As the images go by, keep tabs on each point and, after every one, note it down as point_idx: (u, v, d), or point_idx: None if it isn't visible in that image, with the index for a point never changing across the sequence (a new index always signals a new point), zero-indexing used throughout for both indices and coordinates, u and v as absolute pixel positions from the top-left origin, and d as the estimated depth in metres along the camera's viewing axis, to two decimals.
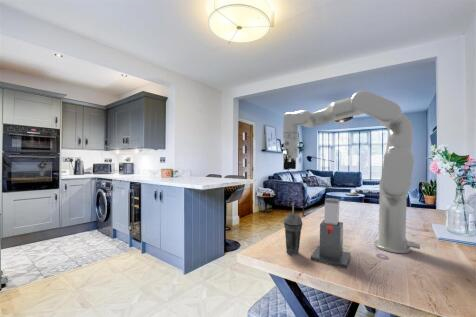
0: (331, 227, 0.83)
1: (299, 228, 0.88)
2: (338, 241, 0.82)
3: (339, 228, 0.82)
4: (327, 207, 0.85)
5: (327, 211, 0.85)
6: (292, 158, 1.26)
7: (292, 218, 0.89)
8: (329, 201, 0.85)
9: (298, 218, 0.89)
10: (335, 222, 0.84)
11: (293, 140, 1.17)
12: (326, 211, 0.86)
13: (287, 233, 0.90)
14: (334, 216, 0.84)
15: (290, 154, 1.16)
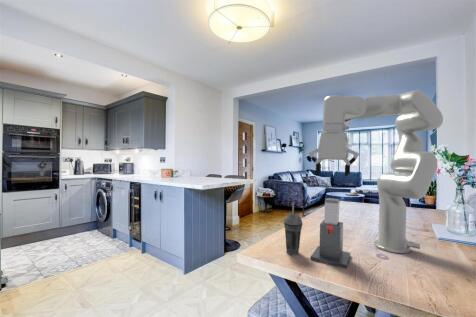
0: (331, 227, 0.83)
1: (299, 228, 0.88)
2: (338, 241, 0.82)
3: (339, 228, 0.82)
4: (327, 207, 0.85)
5: (327, 211, 0.85)
6: (316, 159, 0.89)
7: (292, 218, 0.89)
8: (329, 201, 0.85)
9: (298, 218, 0.89)
10: (335, 222, 0.84)
11: None
12: (326, 211, 0.86)
13: (287, 233, 0.90)
14: (334, 216, 0.84)
15: None
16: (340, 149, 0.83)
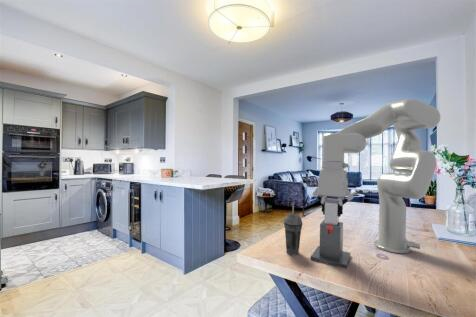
0: (331, 227, 0.83)
1: (299, 228, 0.88)
2: (338, 241, 0.82)
3: (339, 228, 0.82)
4: (327, 207, 0.85)
5: (327, 211, 0.85)
6: None
7: (292, 218, 0.89)
8: (329, 201, 0.85)
9: (298, 218, 0.89)
10: (335, 222, 0.84)
11: None
12: (326, 211, 0.86)
13: (287, 233, 0.90)
14: (334, 216, 0.84)
15: None
16: (340, 187, 0.83)
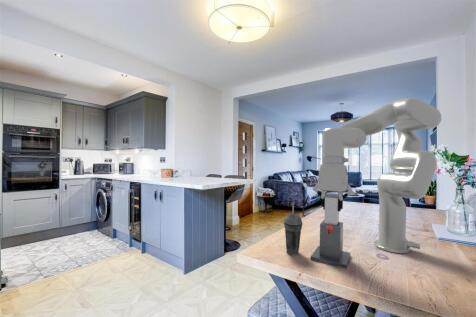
0: (331, 227, 0.83)
1: (299, 228, 0.88)
2: (338, 241, 0.82)
3: (339, 228, 0.82)
4: (328, 201, 0.85)
5: (327, 206, 0.85)
6: None
7: (292, 218, 0.89)
8: (329, 196, 0.85)
9: (298, 218, 0.89)
10: (335, 217, 0.84)
11: None
12: (326, 206, 0.86)
13: (287, 233, 0.90)
14: (334, 211, 0.84)
15: None
16: (340, 182, 0.83)
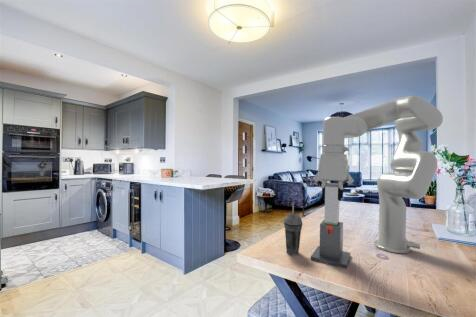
0: (331, 227, 0.83)
1: (299, 228, 0.88)
2: (338, 241, 0.82)
3: (339, 228, 0.82)
4: (328, 191, 0.85)
5: (327, 195, 0.85)
6: None
7: (292, 218, 0.89)
8: (329, 185, 0.85)
9: (298, 218, 0.89)
10: (335, 206, 0.84)
11: None
12: (326, 195, 0.86)
13: (287, 233, 0.90)
14: (335, 200, 0.84)
15: None
16: (340, 171, 0.83)
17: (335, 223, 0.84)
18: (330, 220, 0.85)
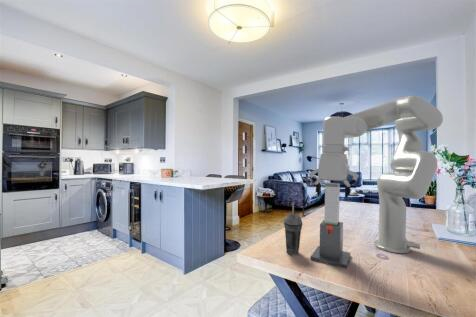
0: (331, 227, 0.83)
1: (299, 228, 0.88)
2: (338, 241, 0.82)
3: (339, 228, 0.82)
4: (328, 190, 0.85)
5: (327, 195, 0.85)
6: (316, 179, 0.89)
7: (292, 218, 0.89)
8: (329, 185, 0.85)
9: (298, 218, 0.89)
10: (335, 206, 0.84)
11: None
12: (326, 195, 0.86)
13: (287, 233, 0.90)
14: (335, 199, 0.84)
15: None
16: (340, 171, 0.83)
17: (335, 223, 0.84)
18: (330, 220, 0.85)
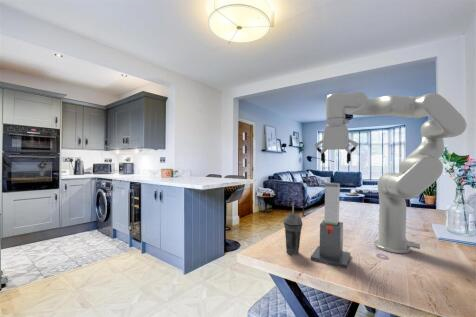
0: (331, 227, 0.83)
1: (299, 228, 0.88)
2: (338, 241, 0.82)
3: (339, 228, 0.82)
4: (328, 190, 0.85)
5: (327, 195, 0.85)
6: (321, 150, 1.01)
7: (292, 218, 0.89)
8: (329, 185, 0.85)
9: (298, 218, 0.89)
10: (335, 206, 0.84)
11: None
12: (326, 195, 0.86)
13: (287, 233, 0.90)
14: (335, 199, 0.84)
15: (348, 145, 0.99)
16: (342, 140, 0.96)
17: (335, 223, 0.84)
18: (330, 220, 0.85)
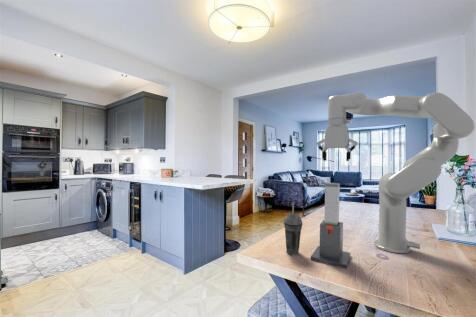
0: (331, 227, 0.83)
1: (299, 228, 0.88)
2: (338, 241, 0.82)
3: (339, 228, 0.82)
4: (328, 190, 0.85)
5: (327, 195, 0.85)
6: (322, 148, 1.08)
7: (292, 218, 0.89)
8: (329, 185, 0.85)
9: (298, 218, 0.89)
10: (335, 206, 0.84)
11: None
12: (326, 195, 0.86)
13: (287, 233, 0.90)
14: (335, 199, 0.84)
15: (348, 143, 1.04)
16: (342, 139, 1.02)
17: (335, 223, 0.84)
18: (330, 220, 0.85)
